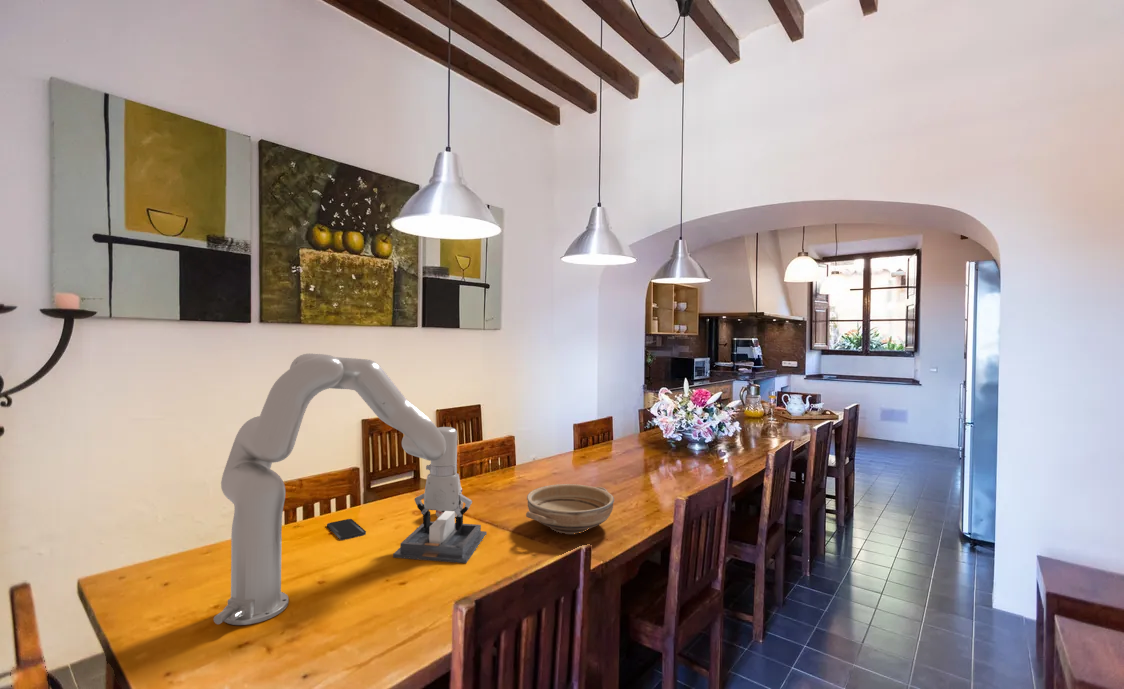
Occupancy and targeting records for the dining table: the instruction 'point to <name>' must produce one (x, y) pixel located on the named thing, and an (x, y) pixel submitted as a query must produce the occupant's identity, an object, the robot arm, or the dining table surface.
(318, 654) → the dining table surface
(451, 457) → the robot arm
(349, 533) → the phone
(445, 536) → the panel
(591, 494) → the ceramic bowl
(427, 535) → the rack
